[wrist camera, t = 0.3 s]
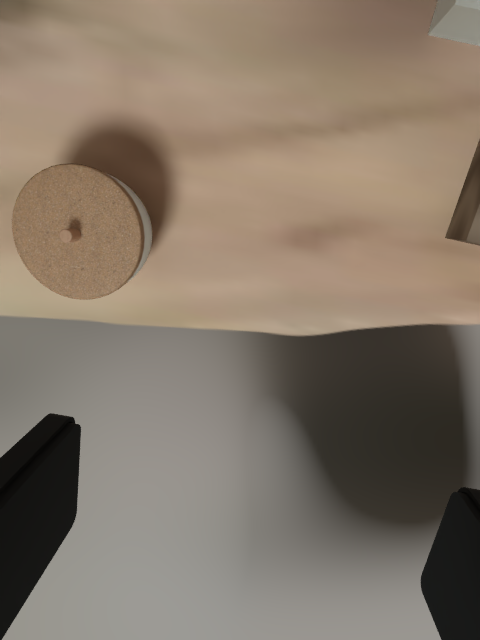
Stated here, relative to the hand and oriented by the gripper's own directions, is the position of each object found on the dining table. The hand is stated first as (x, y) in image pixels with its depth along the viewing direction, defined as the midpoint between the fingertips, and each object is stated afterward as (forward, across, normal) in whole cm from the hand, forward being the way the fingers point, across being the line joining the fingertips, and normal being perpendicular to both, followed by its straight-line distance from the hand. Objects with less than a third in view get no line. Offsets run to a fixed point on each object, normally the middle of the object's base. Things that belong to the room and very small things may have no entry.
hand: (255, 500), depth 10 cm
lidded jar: (+31, +16, -3) cm, 35 cm away
